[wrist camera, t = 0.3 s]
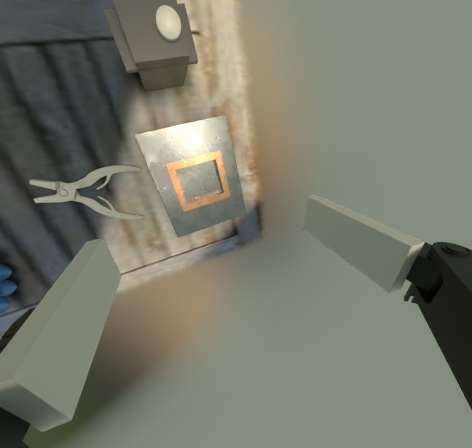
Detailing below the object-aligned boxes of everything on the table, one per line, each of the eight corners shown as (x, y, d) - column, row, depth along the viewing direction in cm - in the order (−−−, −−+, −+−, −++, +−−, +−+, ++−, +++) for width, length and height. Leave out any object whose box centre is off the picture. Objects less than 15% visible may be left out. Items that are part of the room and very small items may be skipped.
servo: (122, 52, 26) (93, -11, 16) (179, 45, 28) (186, -16, 18) (137, 93, 28) (121, 61, 18) (189, 84, 30) (201, 50, 20)
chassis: (135, 135, 30) (133, 134, 28) (224, 115, 34) (228, 113, 31) (177, 235, 39) (178, 240, 37) (244, 212, 42) (248, 215, 40)
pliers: (143, 221, 34) (39, 221, 29) (144, 218, 36) (45, 218, 30) (139, 167, 31) (21, 157, 26) (140, 166, 32) (29, 156, 27)
